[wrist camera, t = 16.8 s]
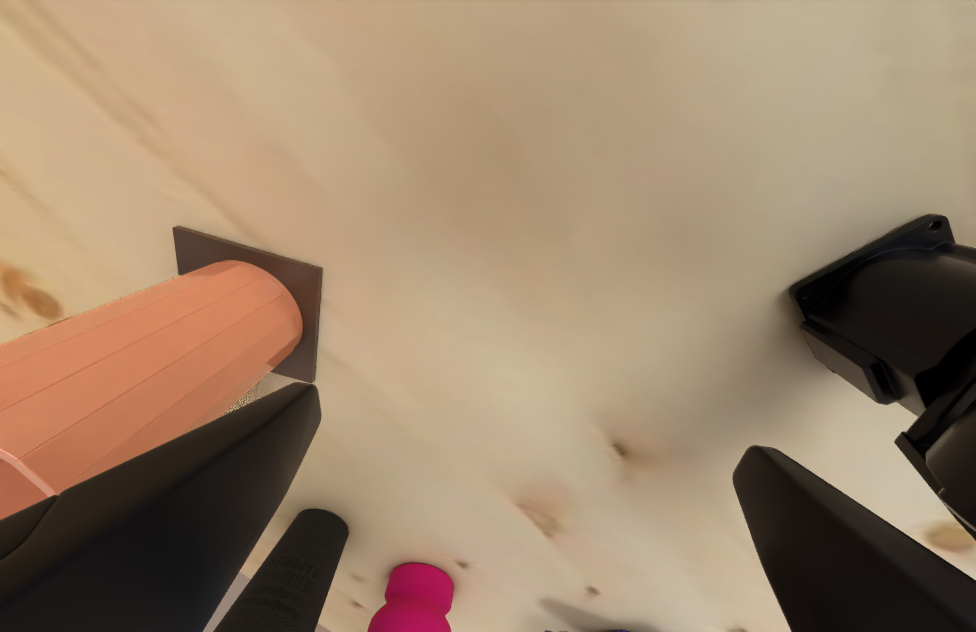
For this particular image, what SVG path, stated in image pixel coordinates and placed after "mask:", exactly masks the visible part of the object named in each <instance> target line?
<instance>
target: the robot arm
mask: <svg viewBox="0 0 976 632" xmlns="http://www.w3.org/2000/svg"><path fill="white" fill-rule="evenodd" d="M931 223H932V225H931V227H929V225H930V224H931ZM928 227H929V228H928ZM804 289H806V290H805V292H804V293H803V294H801V295H800V293H801V291H803V290H804ZM789 294H790V297H791V299H792V301H793V303H794V305H795V307H796V309H797V311H798V313H799V315H800V317H801V319H802V320H803V322H801V324H800V329H801V331H802V333H803V335H804V337H805V339H806V341H807V343H808V345H809V347H810V348H811V350H812V352H813V354H814V356H815V358H816V359H818V360H819V361H820V362H822V363H823V364H824V365H826V367H827V368H828V369H829V370H831V371H832V372H833V373H836V374H838V375H839V376H841V377H842V378H844V379H845V380H846V381H848V382H849V383H850V384H852V385H853V386H855V387H856V388H857V389H859V390H860V391H861V392H863V393H864V394H866V395H867V396H868V397H870V398H871V399H872V400H874V401H875V402H877V403H879V404H884V405H889V404H891V403H894V402H897V403H899V404H900V405H902V406H903V407H905V408H906V409H907V410H909V411H910V412H912V413H913V414H915V415H916V416H918V419H917V420H916V421H915V422H914V423H913V424H912V426H911V427H910V428H909V429H908V430H907V431H906V432H902V433H901V434H900V435H899V436H898V437H897V439H896V440H895V441H894V442H895V444H896V445H897V446H898V448H899V449H900V450H901V451H902V453H903V454H904V455H905V456H906V458H907V459H908V460H909V461H910V463H911V464H912V465H913V466H914V468H915V469H916V470H917V471H918V473H919V474H920V475H921V476H922V478H923V479H924V480H925V481H926V482H927V484H928V485H929V486H930V487H931V489H932V490H933V491H934V492H935V494H936V495H937V496H938V497H939V499H940V500H941V501H942V502H943V504H944V505H945V506H946V507H947V509H948V510H949V511H950V512H951V514H952V515H953V516H954V517H955V519H956V520H957V521H958V522H959V523H960V524H961V525H962V526H963V527H964V528H965V530H966V531H967V532H968V533H970V534H971V536H972V537H973V538H974V539H975V540H976V248H972V247H967V246H963V245H959V244H955V240H954V237H953V234H952V231H951V228H950V224H949V221H948V219H947V217H945V216H942V215H937V214H927V215H925V216H922V217H920V218H918V219H917V220H915V221H913V222H911V223H909V224H907V225H905V226H903V227H902V228H900V229H898V230H896V231H894V232H892V233H890V234H888V235H887V236H885V237H883V238H881V239H879V240H877V241H875V242H873V243H872V244H870V245H868V246H866V247H864V248H862V249H860V250H858V251H856V252H855V253H853V254H851V255H849V256H847V257H845V258H843V259H841V260H840V261H838V262H836V263H834V264H832V265H830V266H828V267H826V268H825V269H823V270H821V271H819V272H817V273H815V274H813V275H811V276H809V277H808V278H806V279H804V280H802V281H800V282H798V283H796V284H795V285H794V286H792V288H791V289H790V292H789ZM320 421H321V408H320V401H319V394H318V389H317V387H316V386H315V385H313V384H308V383H301V382H295V383H292V384H290V385H288V386H286V387H284V388H281V389H279V390H277V391H275V392H273V393H271V394H269V395H267V396H264V397H262V398H260V399H258V400H256V401H254V402H252V403H249V404H247V405H245V406H243V407H241V408H239V409H237V410H234V411H232V412H230V413H228V414H226V415H224V416H222V417H220V418H217V419H215V420H213V421H211V422H209V423H207V424H205V425H202V426H200V427H198V428H196V429H194V430H192V431H190V432H187V433H185V434H183V435H181V436H179V437H177V438H175V439H172V440H170V441H168V442H166V443H164V444H162V445H160V446H158V447H155V448H153V449H151V450H149V451H147V452H145V453H143V454H140V455H138V456H136V457H134V458H132V459H130V460H128V461H125V462H123V463H121V464H119V465H117V466H115V467H113V468H110V469H108V470H106V471H104V472H102V473H100V474H98V475H95V476H93V477H91V478H89V479H87V480H85V481H83V482H80V483H78V484H76V485H74V486H72V487H70V488H68V489H66V490H64V491H62V492H61V493H60V494H59V495H52V496H50V497H48V498H46V499H44V500H42V501H40V502H38V503H35V504H33V505H31V506H29V507H27V508H25V509H23V510H20V511H18V512H16V513H14V514H12V515H10V516H7V517H5V518H3V519H1V520H0V632H203V630H204V628H205V627H206V625H207V623H208V622H209V620H210V619H211V617H212V615H213V613H214V612H215V610H216V608H217V607H218V605H219V604H220V602H221V600H222V599H223V597H224V595H225V594H226V592H227V591H228V589H229V587H230V586H231V584H232V582H233V581H234V579H235V577H236V576H237V574H238V573H239V571H240V569H241V568H242V566H243V564H244V563H245V561H246V559H247V558H248V556H249V554H250V553H251V551H252V550H253V548H254V546H255V545H256V543H257V541H258V540H259V538H260V536H261V535H262V533H263V531H264V530H265V528H266V527H267V525H268V523H269V522H270V520H271V518H272V517H273V515H274V513H275V512H276V510H277V508H278V507H279V505H280V503H281V502H282V500H283V498H284V496H285V495H286V493H287V491H288V489H289V487H290V485H291V483H292V481H293V479H294V477H295V475H296V473H297V471H298V469H299V466H300V464H301V462H302V460H303V458H304V456H305V454H306V452H307V450H308V448H309V446H310V444H311V441H312V439H313V437H314V435H315V433H316V431H317V429H318V427H319V424H320ZM733 485H734V488H735V491H736V494H737V496H738V499H739V502H740V505H741V508H742V511H743V514H744V516H745V519H746V522H747V525H748V528H749V531H750V534H751V536H752V539H753V542H754V545H755V548H756V551H757V553H758V556H759V559H760V561H761V564H762V566H763V569H764V571H765V574H766V576H767V578H768V581H769V583H770V585H771V587H772V589H773V592H774V594H775V596H776V598H777V600H778V603H779V605H780V607H781V609H782V612H783V614H784V616H785V618H786V620H787V623H788V625H789V627H790V629H791V631H792V632H976V580H974V579H973V578H971V577H970V576H968V575H967V574H965V573H964V572H962V571H961V570H959V569H958V568H956V567H955V566H953V565H952V564H950V563H949V562H947V561H946V560H944V559H943V558H941V557H939V556H938V555H936V554H935V553H933V552H932V551H930V550H929V549H927V548H926V547H924V546H923V545H921V544H920V543H918V542H917V541H915V540H914V539H912V538H911V537H909V536H908V535H906V534H905V533H903V532H902V531H900V530H899V529H897V528H896V527H894V526H893V525H891V524H890V523H888V522H887V521H885V520H883V519H882V518H880V517H879V516H877V515H876V514H874V513H873V512H871V511H870V510H868V509H867V508H865V507H864V506H862V505H861V504H859V503H858V502H856V501H855V500H853V499H852V498H850V497H849V496H847V495H846V494H844V493H843V492H841V491H840V490H838V489H837V488H835V487H834V486H832V485H830V484H829V483H827V482H826V481H824V480H823V479H821V478H820V477H818V476H817V475H815V474H814V473H812V472H811V471H809V470H808V469H806V468H805V467H803V466H802V465H800V464H799V463H797V462H796V461H794V460H793V459H791V458H790V457H788V456H787V455H785V454H784V453H782V452H781V451H779V450H777V449H775V448H772V447H765V446H758V445H753V446H751V447H749V448H748V449H747V450H746V452H745V453H744V455H743V457H742V458H741V460H740V462H739V464H738V465H737V467H736V469H735V470H734V472H733Z"/></svg>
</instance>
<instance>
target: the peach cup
mask: <svg viewBox="0 0 976 632" xmlns="http://www.w3.org/2000/svg"><path fill="white" fill-rule="evenodd" d="M302 332H303V322H302V316H301V313H300V310H299V307H298V305H297V303H296V301H295V299H294V298H293V296H292V295H291V293H290V292H289V291H288V289H287V288H286V287H285V286H284V285H283V284H282V283H281V282H280V281H279V280H278V279H276V278H275V277H274V276H273V275H271V274H270V273H268V272H267V271H265V270H263V269H262V268H260V267H257V266H255V265H253V264H250V263H247V262H243V261H237V260H222V261H217V262H214V263H211V264H209V265H206V266H203V267H200V268H197V269H194V270H192V271H189V272H187V273H184V274H181V275H179V276H176V277H173V278H171V279H168V280H166V281H163V282H160V283H158V284H155V285H153V286H150V287H147V288H145V289H142V290H139V291H137V292H134V293H132V294H129V295H126V296H124V297H121V298H119V299H116V300H113V301H111V302H108V303H105V304H103V305H100V306H98V307H95V308H92V309H90V310H87V311H84V312H82V313H79V314H77V315H74V316H71V317H69V318H66V319H64V320H61V321H58V322H56V323H53V324H50V325H48V326H45V327H43V328H40V329H37V330H35V331H32V332H29V333H27V334H24V335H22V336H19V337H16V338H14V339H11V340H9V341H6V342H3V343H1V344H0V520H1V519H3V518H5V517H7V516H10V515H12V514H14V513H16V512H18V511H20V510H23V509H25V508H27V507H29V506H31V505H33V504H35V503H38V502H40V501H42V500H44V499H46V498H48V497H50V496H52V495H59V494H60V493H61V492H62V491H64V490H66V489H68V488H70V487H72V486H74V485H76V484H78V483H80V482H83V481H85V480H87V479H89V478H91V477H93V476H95V475H98V474H100V473H102V472H104V471H106V470H108V469H110V468H113V467H115V466H117V465H119V464H121V463H123V462H125V461H128V460H130V459H132V458H134V457H136V456H138V455H140V454H143V453H145V452H147V451H149V450H151V449H153V448H155V447H158V446H160V445H162V444H164V443H166V442H168V441H170V440H172V439H175V438H177V437H179V436H181V435H183V434H185V433H187V432H190V431H192V430H194V429H196V428H198V427H200V426H202V425H205V424H207V423H209V422H211V421H213V420H215V419H217V418H219V417H220V416H222V415H223V414H224V413H225V412H226V411H227V410H228V409H229V408H230V407H232V406H233V405H234V404H235V403H236V402H237V401H238V400H239V399H240V398H241V397H243V396H244V395H245V394H246V393H247V392H248V391H249V390H250V389H251V388H253V387H254V386H255V385H256V384H257V383H258V382H259V381H260V380H261V379H263V378H264V377H265V376H266V375H267V374H268V373H269V372H270V371H271V370H273V369H274V368H275V367H276V366H277V365H278V364H279V363H280V362H281V361H282V360H284V359H285V358H286V357H287V356H288V355H289V354H290V353H291V352H292V351H293V350H294V349H295V348H296V347H297V345H298V344H299V342H300V339H301V336H302Z"/></svg>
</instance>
